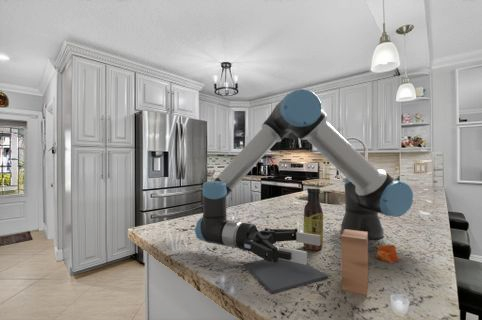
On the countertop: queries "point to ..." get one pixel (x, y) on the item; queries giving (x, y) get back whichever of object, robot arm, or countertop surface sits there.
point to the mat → (283, 274)
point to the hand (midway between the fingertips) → (314, 248)
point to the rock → (387, 253)
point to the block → (354, 261)
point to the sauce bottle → (313, 217)
